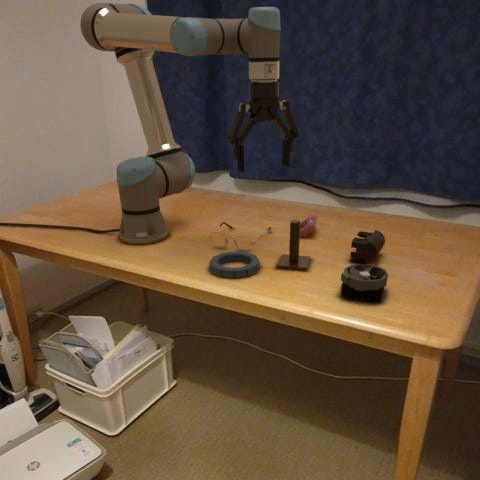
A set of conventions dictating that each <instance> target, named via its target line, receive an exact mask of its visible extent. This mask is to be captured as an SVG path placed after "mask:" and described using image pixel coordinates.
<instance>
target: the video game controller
mask: <svg viewBox="0 0 480 480" xmlns="http://www.w3.org/2000/svg"><path fill="white" fill-rule="evenodd" d="M318 218H319V217H318V215H317V214H313V213H311V214H309V215H308V216H307V217H306V218H305V219H303V220H302V221H300V239H302V238H305V237H307V236H310V235H311V233H312V232H313V231H316V230H317V220H318Z"/></svg>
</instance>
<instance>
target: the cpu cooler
mask: <svg viewBox="0 0 480 480" xmlns="http://www.w3.org/2000/svg"><path fill="white" fill-rule="evenodd" d="M340 274H341V275H340V281H341V282H342V283H341V289H340V297H342V298H344V299H346V300H350V301H351V300H352V301H358V302H366V303H374V304H375V303H377V302H378V303H381V302H382V299H383V295H384V291H385V288H386V287H387V284H388V279H389V273H388V271H387V269H385V268H383V267H380V266H379V265H375V264H370V263H369V264H357V263H356V264H350V265H349V266H346V267H344V269H343V272H341V273H340Z"/></svg>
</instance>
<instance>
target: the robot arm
mask: <svg viewBox="0 0 480 480" xmlns="http://www.w3.org/2000/svg"><path fill="white" fill-rule="evenodd" d="M79 25H80V31H81V34H82V36H83V38H84V40H85V42H86V43H87V45H89V46H90V47H92V48H93V49H95V50H98V51H101V52H114V55H115V58H116V61H117V63H119V64H121V65H122V66H123V67H124V70H125V71H124V72H125V74H126V77H127V81H128V84H129V87H130V91H131V94H132V98H133V101H134V105H135V107H136V112H137V115H138V118H139V121H140V125H141V128H142V131H143V136H144V138H145V141H146V145H147V148H148V149H147V152H146V154H145V156H137V157H130V158H127V159H125V160H122V161H121V162H119V163H118V164H117V166H116V170H115V172H116V173H115V174H116V183H117V187H118V194H119V195H118V196H119V201H120V207H121V220H120V226H119V228H113V229H105V230H103V229H102V230H101V229H93V228H89V227H81V226H70V225H55V224H37V223H35V224H34V223H20V222H19V223H16V222H15V223H14V222H0V226H15V227H16V226H18V227H34V228H35V227H36V228H37V227H38V228H39V227H40V228H52V229H65V230H66V229H67V230H68V229H69V230H80V231H87V232H92V233H99V234H107V233H113V232H114V233H116V232H119V233H118V235H119V239H120V241H121V242H122V243H125V244H129V245H140V246H141V245H150V244H156V243H158V242H161V241H164V240H165V239H167V238H168V237H169V228H168V225H167V223H166V221H165V219H164V216H163V214H162V212H161V207H160V199H163V198H166V197H168V196H172V195H177V194H181V193H182V192H184V191H187V190H188V189H189V188H191V187H192V185H193V182H194V181H195V176H196V167H195V163H194V161H193V158H191V157H190V156H189V155H188V154H187V153H185V152H183V148H182V145H180V144H179V143H177V141H176V140H175V138H174V137H175V136H174V134H173V130H172V126H171V123H170V119H169V115H168V112H167V108H166V104H165V101H164V97H163V93H162V90H161V86H160V84H159V79H158V76H157V72H156V69H155V65H154V61H153V58H154V56H155V55H156V52H166V53H175V54H179V55H181V56H185V57H197V56H210V55H211V56H214V55H215V56H218V55H241V54H243V55H244V54H246V55H248V79H249V80H250V82H249V84H248V96H249V98H248V99H249V103H248V104H247V103H243V102H239V103H237V108H236V109H237V111H236V115H235V118H234V119H233V122H232V125H231V128H230V130H229V133H228V135H227V138H226V142H227V143H228V144H230V145H232V146H233V157H234V159H237V161H236V164H237V166H236V167H237V171H238V172H240V173H244V172H245V145H243V142H244V141H245V140H246V138H247V137H248V135H249V133H250V132H251V131H252V129H253V128H254V127H255V125H256V124H257V123H258V122H259V123H262V122H266V121H267V122H273V123H274V125H275V126H276V127H277V130H279V132H280V133H281V134H282V136H283V137H284V138H285V139H282V148H281V149H282V151H281V155H282V156H281V164H282V166H284V167H290V156H291V153H292V152H293V142H294V141H295V140H296V138H300V131H299V129H298V126H297V124H296V122H295V119H294V116H293V113H292V110H291V103H290V101H289V100H286V99H282V100H281V101H279V98H280V83H279V81H278V80H280V63H281V62H280V52H281V51H280V47H281V31H282V27H281V12H280V9H279V8H278V7H275V6H255V7H250V8H249V10H248V16H247V17H245V18H203V17H191V16H173V15H172V16H171V15H156V14H152V13H151V12H150V11H149V10H148V9H147V8H146V7H144V6H142V5H140V4H139V5H138V4H134V3H111V2H109V3H107V2H96V3H92V4H91V5H89V6H87V7H86V8H85V9H84V11H83V12H82V15H81V17H80V24H79ZM279 109H280V110H281V113H282V115H283V118H284V121H285V123H286V124H285V123H284V122H283V120H282V117H280V115H279V113H278V111H279ZM248 111H249V113H250V114H249V115H248V117H247V118H246V122H245V123H244V124H243V122H244V120H245V117H246V114H247V113H248ZM286 125H287V126H286Z"/></svg>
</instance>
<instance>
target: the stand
mask: <svg viewBox="0 0 480 480" xmlns="http://www.w3.org/2000/svg"><path fill="white" fill-rule="evenodd" d="M300 223H301V220H299V219H292V220H290V221H289V247H288V248H289V249H288V250H289V251H288V254H287V253H286V254H284V253H282V254H281V256H280V258H279V260H278V261H277V263H276V269H277V270H288V271H299V272H307V270H308V267H309V265H310V262H311V258H312V257H311V256H309V255H300V241H301V240H300V239H301V238H300V229H301V228H300Z"/></svg>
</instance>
